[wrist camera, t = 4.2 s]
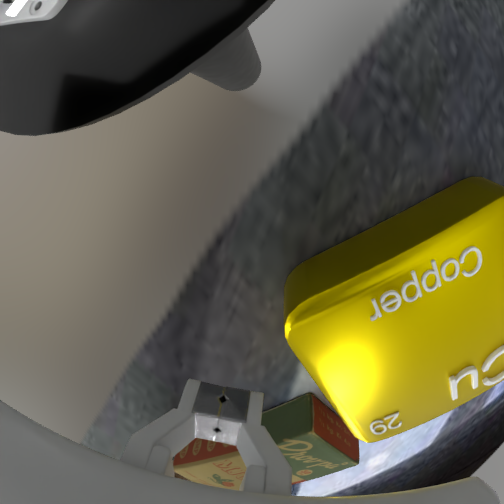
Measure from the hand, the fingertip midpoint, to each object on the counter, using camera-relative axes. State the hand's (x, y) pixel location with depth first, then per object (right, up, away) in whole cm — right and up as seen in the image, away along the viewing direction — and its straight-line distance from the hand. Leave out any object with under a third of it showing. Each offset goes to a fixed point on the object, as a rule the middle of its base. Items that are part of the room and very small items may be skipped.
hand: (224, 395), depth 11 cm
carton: (+2, -12, +15) cm, 19 cm away
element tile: (+12, +2, +7) cm, 14 cm away
